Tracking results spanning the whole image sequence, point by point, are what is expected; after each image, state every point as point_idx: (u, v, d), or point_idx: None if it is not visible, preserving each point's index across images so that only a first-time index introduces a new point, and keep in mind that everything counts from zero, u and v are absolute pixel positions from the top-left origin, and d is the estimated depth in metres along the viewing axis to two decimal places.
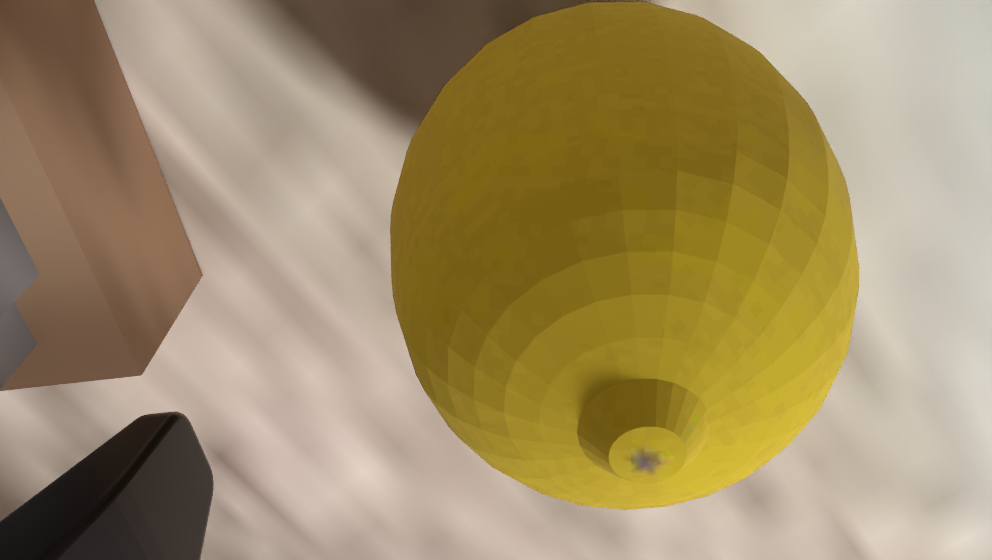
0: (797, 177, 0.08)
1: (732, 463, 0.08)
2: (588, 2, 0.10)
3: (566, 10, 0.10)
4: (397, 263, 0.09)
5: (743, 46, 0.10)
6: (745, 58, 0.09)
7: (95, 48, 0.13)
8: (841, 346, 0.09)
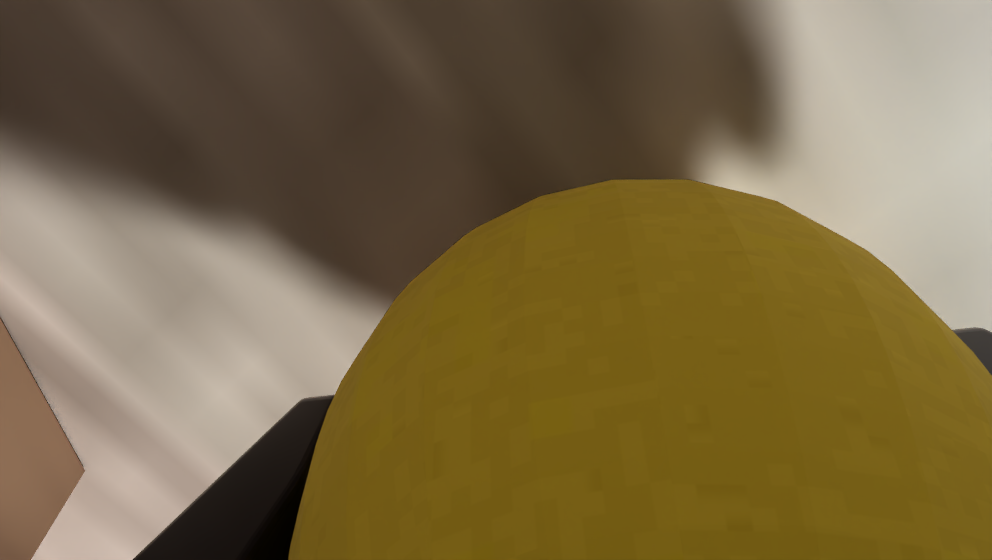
0: None
1: None
2: (618, 190, 0.06)
3: (582, 213, 0.06)
4: None
5: (893, 294, 0.06)
6: (911, 340, 0.05)
7: None
8: None
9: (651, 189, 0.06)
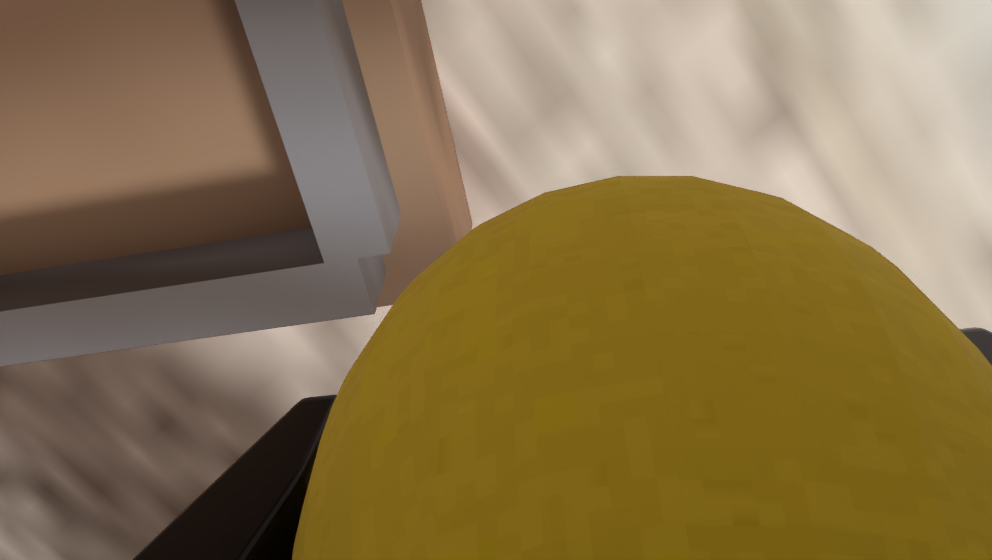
0: None
1: None
2: (622, 187, 0.06)
3: (587, 210, 0.06)
4: None
5: (898, 291, 0.06)
6: (916, 336, 0.05)
7: (425, 38, 0.17)
8: None
9: (655, 186, 0.06)
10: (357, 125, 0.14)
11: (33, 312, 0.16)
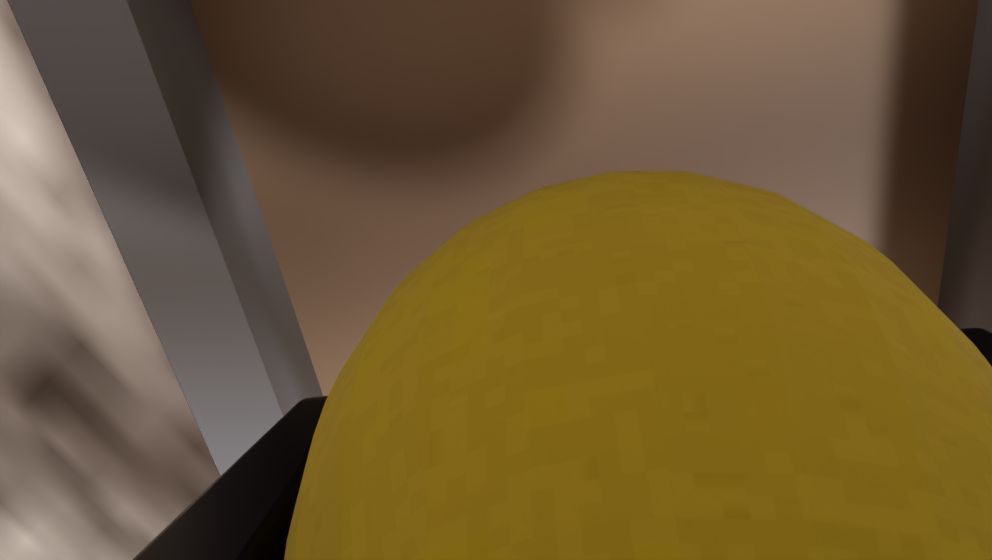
0: None
1: None
2: (617, 182, 0.06)
3: (581, 204, 0.06)
4: None
5: (893, 285, 0.06)
6: (911, 330, 0.05)
7: None
8: None
9: (650, 180, 0.06)
10: None
11: None
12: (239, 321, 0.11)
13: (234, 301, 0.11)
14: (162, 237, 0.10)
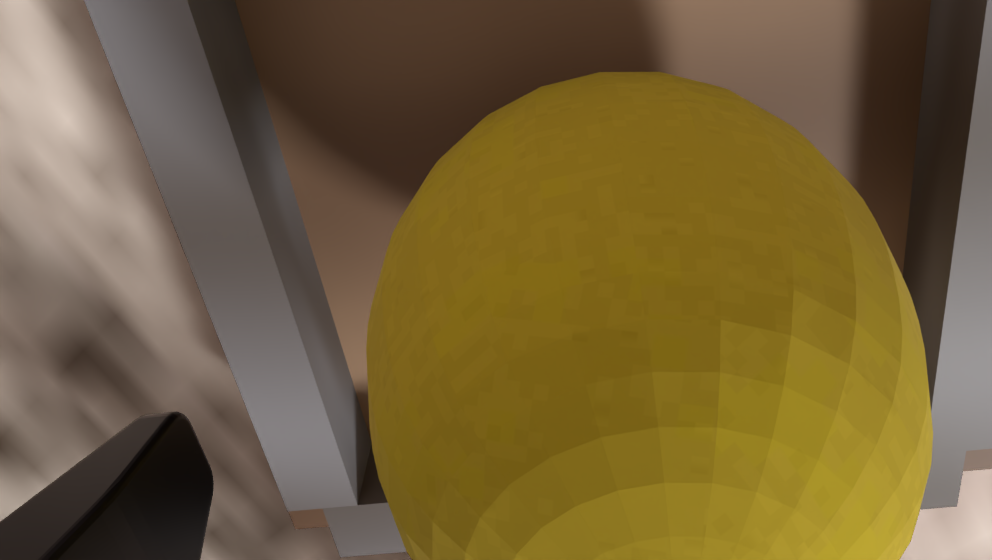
0: (867, 315, 0.07)
1: None
2: (600, 73, 0.09)
3: (575, 85, 0.09)
4: (372, 398, 0.08)
5: (787, 133, 0.08)
6: (793, 153, 0.08)
7: None
8: (916, 515, 0.07)
9: (624, 73, 0.09)
10: None
11: None
12: (273, 278, 0.12)
13: (269, 260, 0.12)
14: (207, 201, 0.11)
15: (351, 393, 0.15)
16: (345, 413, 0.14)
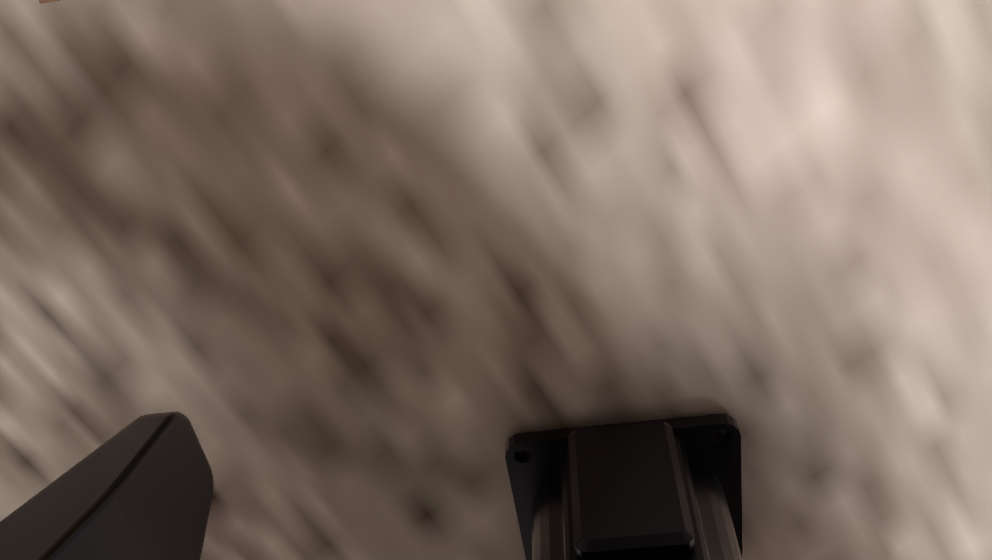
0: None
1: None
2: None
3: None
4: None
5: None
6: None
7: None
8: None
9: None
10: None
11: None
12: None
13: None
14: None
15: None
16: None
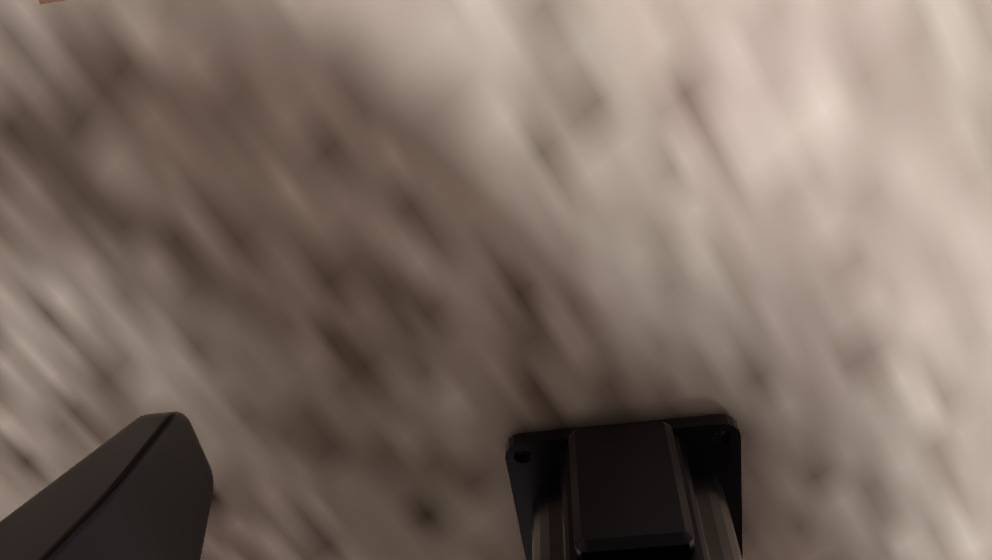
0: None
1: None
2: None
3: None
4: None
5: None
6: None
7: None
8: None
9: None
10: None
11: None
12: None
13: None
14: None
15: None
16: None
